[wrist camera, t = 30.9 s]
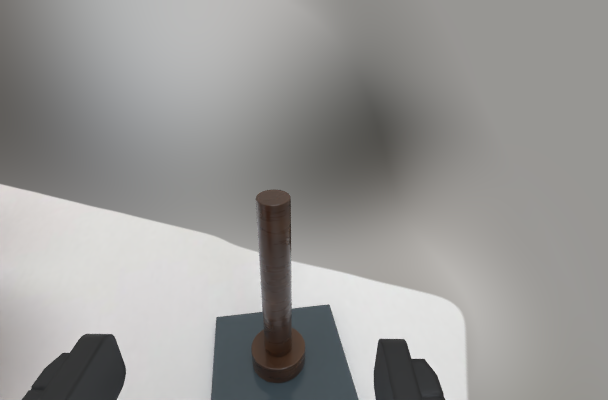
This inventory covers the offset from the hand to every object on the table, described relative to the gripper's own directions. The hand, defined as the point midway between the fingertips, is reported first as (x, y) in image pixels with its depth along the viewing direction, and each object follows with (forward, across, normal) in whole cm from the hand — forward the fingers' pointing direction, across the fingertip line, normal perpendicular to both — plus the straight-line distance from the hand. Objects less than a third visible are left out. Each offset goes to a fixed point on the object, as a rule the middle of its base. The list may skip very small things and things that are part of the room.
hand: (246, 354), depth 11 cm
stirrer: (+11, 0, +14) cm, 18 cm away
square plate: (+11, 0, +15) cm, 19 cm away
